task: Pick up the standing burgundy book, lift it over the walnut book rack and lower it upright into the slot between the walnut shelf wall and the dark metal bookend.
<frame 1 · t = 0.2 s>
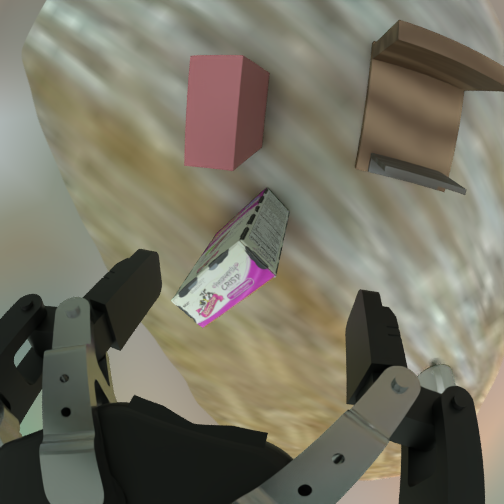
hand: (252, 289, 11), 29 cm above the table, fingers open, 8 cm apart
mug: (434, 373, 49), on the table
burgundy book: (248, 108, 34), on the table
book rack: (412, 116, 29), on the table
candy bar box: (252, 222, 42), on the table
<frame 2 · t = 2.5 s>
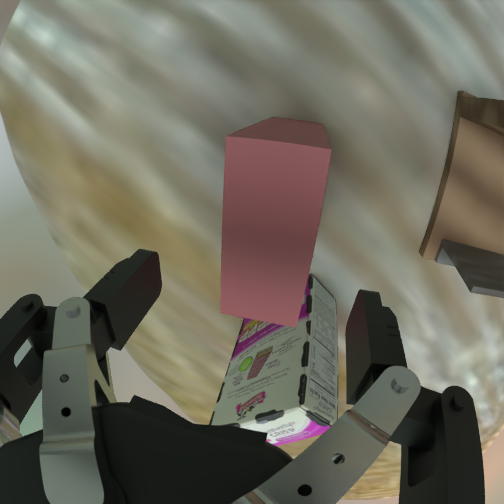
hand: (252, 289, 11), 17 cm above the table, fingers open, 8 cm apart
burgundy book: (291, 173, 26), on the table
book rack: (490, 191, 21), on the table
candy bar box: (289, 308, 34), on the table
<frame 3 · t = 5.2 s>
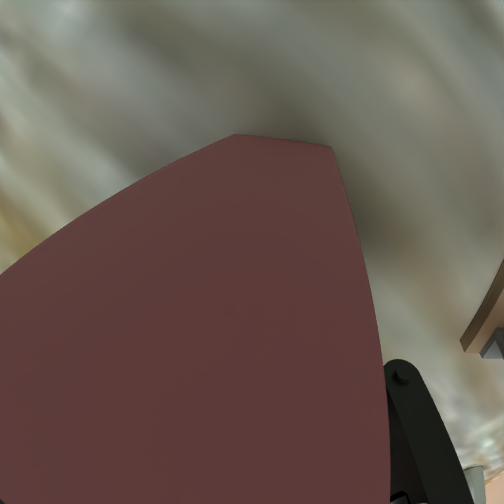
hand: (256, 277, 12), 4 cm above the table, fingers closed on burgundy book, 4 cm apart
mug: (465, 472, 31), on the table
burgundy book: (271, 235, 15), on the table, touching gripper
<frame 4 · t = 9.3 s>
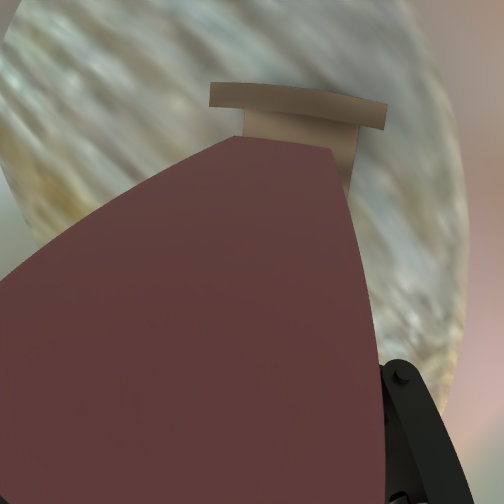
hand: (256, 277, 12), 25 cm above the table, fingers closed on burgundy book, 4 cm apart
burgundy book: (271, 237, 15), point 21 cm above the table, touching gripper
book rack: (297, 159, 33), on the table
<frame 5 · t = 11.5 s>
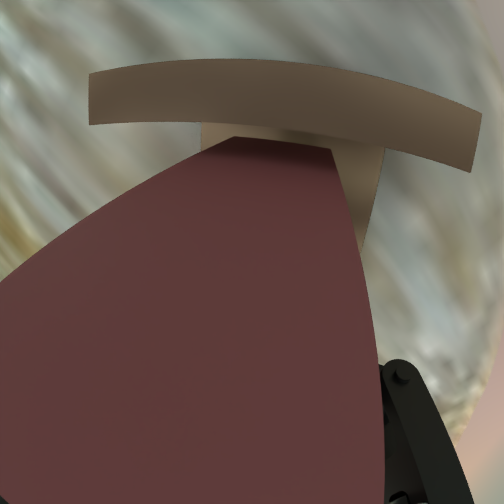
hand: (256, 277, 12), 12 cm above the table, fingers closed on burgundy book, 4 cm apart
burgundy book: (270, 237, 15), point 8 cm above the table, touching gripper
book rack: (286, 189, 22), on the table
when the fingers open (6 cm above the table, at t = 13.6 s): burgundy book stays where it is, resting on book rack.
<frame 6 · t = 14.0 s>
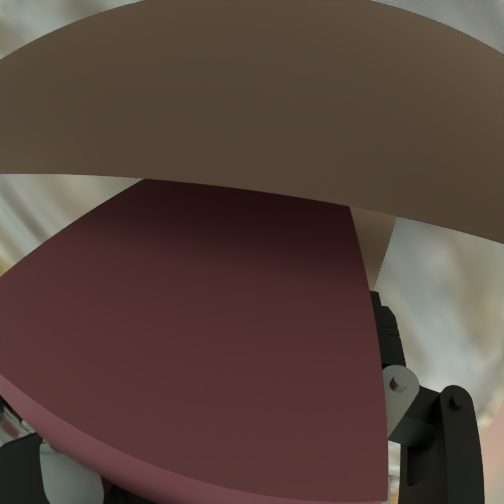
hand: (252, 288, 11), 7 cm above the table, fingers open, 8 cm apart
burgundy book: (273, 228, 16), point 1 cm above the table, touching book rack
book rack: (276, 219, 17), on the table
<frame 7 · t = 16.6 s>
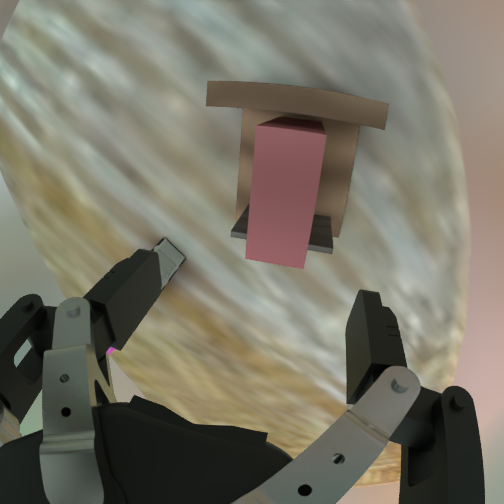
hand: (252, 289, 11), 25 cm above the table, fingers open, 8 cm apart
burgundy book: (296, 161, 32), point 1 cm above the table, touching book rack
book rack: (296, 159, 33), on the table
candy bar box: (159, 265, 45), on the table
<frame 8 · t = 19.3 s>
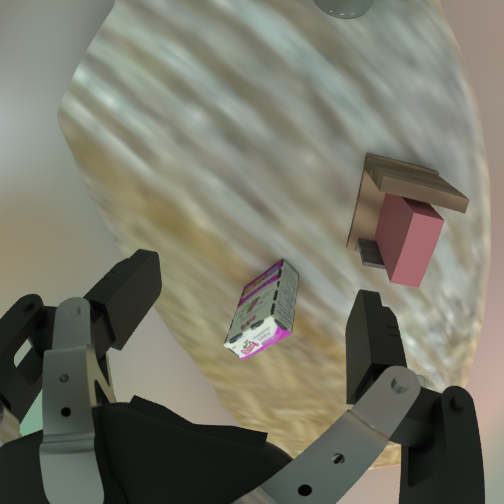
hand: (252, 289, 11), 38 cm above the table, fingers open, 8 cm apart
burgundy book: (393, 211, 44), point 1 cm above the table, touching book rack
book rack: (392, 209, 45), on the table
candy bar box: (271, 280, 58), on the table
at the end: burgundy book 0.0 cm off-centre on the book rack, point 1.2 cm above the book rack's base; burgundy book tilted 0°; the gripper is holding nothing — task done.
